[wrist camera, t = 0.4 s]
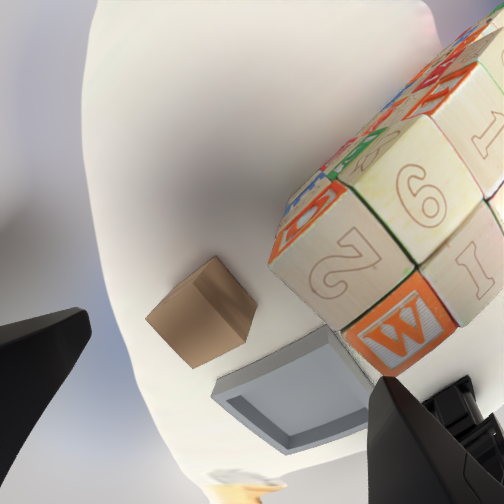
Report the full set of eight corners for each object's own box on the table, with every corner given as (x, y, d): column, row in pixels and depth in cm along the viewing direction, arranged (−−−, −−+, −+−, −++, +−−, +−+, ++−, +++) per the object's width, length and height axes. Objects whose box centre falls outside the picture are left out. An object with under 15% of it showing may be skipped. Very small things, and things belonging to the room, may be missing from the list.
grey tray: (384, 400, 23) (388, 418, 21) (287, 438, 27) (285, 455, 25) (326, 324, 21) (328, 342, 19) (217, 379, 25) (210, 397, 23)
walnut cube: (257, 304, 22) (245, 342, 17) (212, 331, 23) (192, 369, 19) (216, 255, 21) (192, 283, 16) (173, 288, 23) (144, 318, 18)
